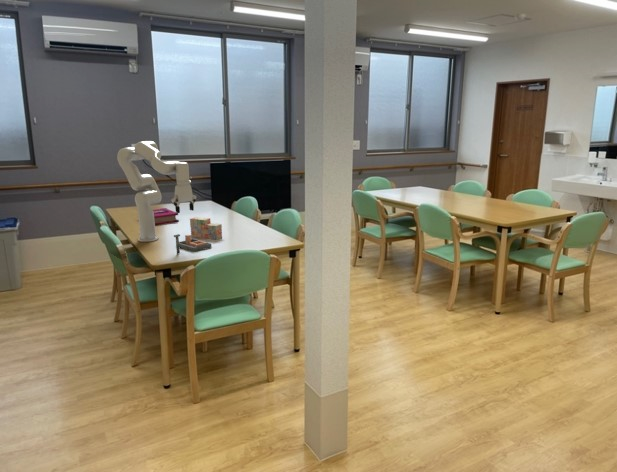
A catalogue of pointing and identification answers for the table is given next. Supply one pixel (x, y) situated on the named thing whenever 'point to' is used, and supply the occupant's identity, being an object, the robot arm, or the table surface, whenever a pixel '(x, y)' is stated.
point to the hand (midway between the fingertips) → (184, 211)
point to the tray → (188, 247)
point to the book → (164, 216)
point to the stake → (177, 242)
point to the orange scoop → (193, 244)
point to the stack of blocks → (205, 228)
